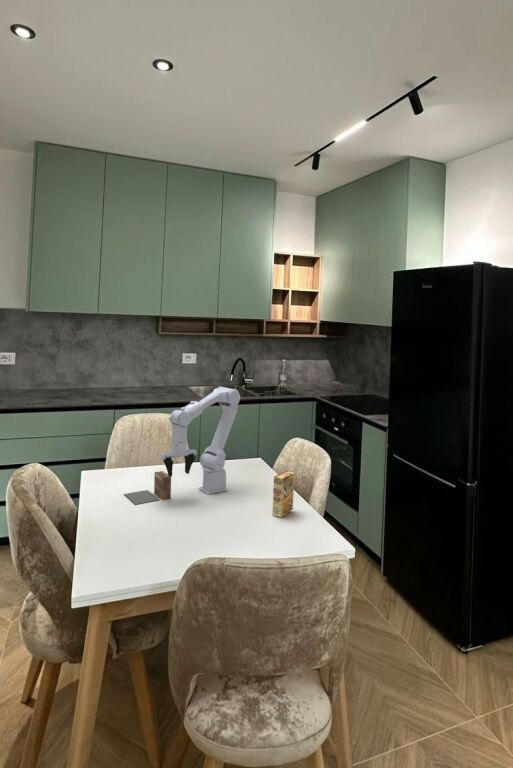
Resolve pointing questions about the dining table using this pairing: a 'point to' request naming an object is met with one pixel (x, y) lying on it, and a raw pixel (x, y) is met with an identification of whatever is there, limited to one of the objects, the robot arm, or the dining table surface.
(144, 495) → the rubber mat
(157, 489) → the walnut slab
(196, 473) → the dining table surface
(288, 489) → the candy box
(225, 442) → the robot arm
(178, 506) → the dining table surface
